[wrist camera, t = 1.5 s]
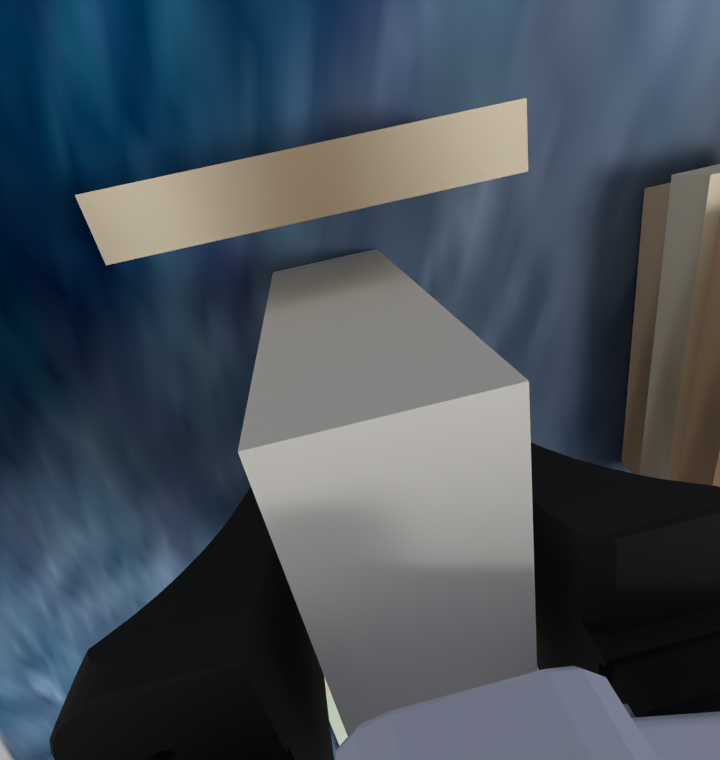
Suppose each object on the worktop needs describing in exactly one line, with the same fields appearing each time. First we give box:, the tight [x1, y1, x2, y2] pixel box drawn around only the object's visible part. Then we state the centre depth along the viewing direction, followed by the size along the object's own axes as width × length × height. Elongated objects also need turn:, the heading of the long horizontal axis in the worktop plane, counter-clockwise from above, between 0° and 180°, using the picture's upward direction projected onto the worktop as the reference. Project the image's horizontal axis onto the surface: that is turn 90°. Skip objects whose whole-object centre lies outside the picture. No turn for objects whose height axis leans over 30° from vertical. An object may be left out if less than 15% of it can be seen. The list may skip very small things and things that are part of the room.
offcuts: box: [621, 164, 720, 487], centre depth 13 cm, size 3×11×4 cm, turn 11°
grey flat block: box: [238, 249, 537, 736], centre depth 11 cm, size 3×10×9 cm, turn 11°
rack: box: [75, 98, 528, 697], centre depth 13 cm, size 8×15×4 cm, turn 11°
